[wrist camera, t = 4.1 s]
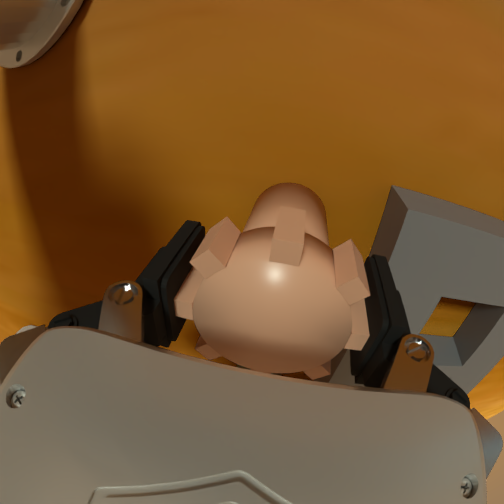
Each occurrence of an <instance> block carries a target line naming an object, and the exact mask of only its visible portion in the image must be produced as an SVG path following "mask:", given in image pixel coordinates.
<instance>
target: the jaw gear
mask: <svg viewBox="0 0 504 504" xmlns="http://www.w3.org/2000/svg"><path fill="white" fill-rule="evenodd" d="M190 263H191V264H192V265H193V267H192V268H191V270H190V272H189V274H188V275H187V277H186V279H185V280H184V282H183V284H182V286H181V287H180V289H179V291H178V293H177V294H176V296H175V298H174V306H175V315H176V316H178V317H182V318H186V319H190V320H193V319H194V322H195V325H196V328H197V330H198V332H199V333H200V337H199V339H198V342H197V344H196V347H195V349H196V350H197V351H198V352H199V353H201V354H202V355H203V356H204V357H206V358H207V359H208V360H212V359H215V358H218V357H221V356H223V357H225V358H226V359H228V360H230V361H232V362H234V363H236V364H238V365H241V366H243V367H246V368H249V369H251V370H252V371H257V372H263V373H268V374H271V373H295V372H301V371H303V372H304V373H305V374H306V375H307V376H308V377H310V378H311V379H312V380H314V379H317V378H320V377H324V376H327V375H330V368H331V359H332V358H334V357H335V356H336V355H337V354H339V353H340V351H341V350H342V349H343V348H344V349H352V350H360V351H361V350H362V348H363V346H364V345H365V343H366V341H367V339H368V338H369V336H370V335H369V327H368V320H367V313H366V306H365V300H364V298H366V297H368V296H370V291H369V286H368V281H367V276H366V272H365V267H364V263H363V259H362V256H361V254H360V252H359V251H358V249H357V248H356V246H355V245H354V243H353V242H352V240H351V239H350V240H348V241H347V242H345V243H343V244H341V245H339V246H337V247H336V248H334V249H333V250H332V249H331V248H330V247H329V242H328V230H327V220H326V211H325V208H324V205H323V203H322V201H321V199H320V198H319V197H318V196H317V195H316V194H315V193H314V192H313V191H312V190H310V189H309V188H307V187H305V186H303V185H300V184H296V183H280V184H277V185H274V186H271V187H270V188H268V189H266V190H265V191H264V192H263V193H262V194H261V195H260V196H259V197H258V199H257V201H256V203H255V205H254V207H253V209H252V212H251V214H250V216H249V219H248V221H247V223H246V226H245V228H244V230H243V233H241V232H240V231H239V230H238V229H237V227H236V226H235V225H234V224H233V223H232V222H231V221H230V219H229V218H228V217H226V218H224V219H223V220H222V221H220V222H219V223H217V224H216V225H215V226H213V227H212V228H210V230H209V231H208V233H207V234H206V236H205V238H204V239H203V241H202V243H201V244H200V246H199V247H198V249H197V251H196V252H195V254H194V256H193V257H192V259H191V260H190Z"/></svg>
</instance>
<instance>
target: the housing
mask: <svg viewBox="0 0 504 504" xmlns="http://www.w3.org/2000/svg"><path fill="white" fill-rule="evenodd" d="M373 254H375V255H380V256H385V257H386V258H387V261H388V264H389V267H390V270H391V273H392V276H393V280H394V283H395V286H396V290H398V291H399V292H400V295H401V298H402V302H403V305H404V309H405V312H406V316H407V320H408V324H409V327H410V331H411V334H416V335H419V336H422V337H423V338H425V339H426V340H427V341H428V342H429V343H430V344H431V346H432V347H433V350H434V360H433V364H434V365H435V366H436V367H438V368H439V369H440V370H441V371H442V372H443V373H445V374H446V375H447V376H448V377H449V378H450V379H451V380H452V381H454V382H455V383H456V384H457V385H458V386H459V387H460V388H462V389H463V390H464V392H465V393H466V394H468V393H469V392H470V391H471V390H472V389H473V388H474V387H475V386H476V385H477V384H478V383H479V382H480V381H481V380H482V379H483V378H484V377H485V376H486V375H487V374H488V373H489V372H490V370H491V369H492V368H493V367H494V366H495V365H496V364H497V363H498V362H499V360H500V359H501V358H502V357H503V356H504V221H501V220H499V219H496V218H494V217H491V216H488V215H486V214H483V213H480V212H477V211H475V210H472V209H469V208H466V207H463V206H460V205H457V204H454V203H451V202H448V201H445V200H442V199H438V198H435V197H432V196H429V195H425V194H422V193H418V192H415V191H411V190H408V189H404V188H400V187H397V186H393V185H392V186H391V190H390V193H389V197H388V200H387V204H386V207H385V210H384V213H383V216H382V220H381V223H380V226H379V229H378V232H377V235H376V238H375V240H374V243H373V246H372V249H371V252H370V255H369V257H371V256H372V255H373ZM441 297H446V298H452V299H459V300H465V301H471V302H476V304H475V306H474V307H473V309H472V310H471V312H470V313H469V315H468V316H467V318H466V319H465V321H464V322H463V324H462V325H461V327H460V328H459V329H458V331H457V332H456V334H455V335H454V336H453V337H445V336H434V335H425V334H419V333H420V331H421V330H422V328H423V327H424V325H425V323H426V322H427V320H428V319H429V317H430V315H431V314H432V312H433V311H434V309H435V307H436V306H437V304H438V302H439V300H440V299H441ZM314 381H318V382H325V383H333V384H341V385H351V386H361V387H365V386H364V384H355V376H352V375H351V368H350V349H344V348H343V349H342V350H341V351H340V353H339V354H337V355H336V356H335V357H334V358H332V359H331V368H330V375H327V376H324V377H320V378H317V379H315V380H314Z"/></svg>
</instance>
